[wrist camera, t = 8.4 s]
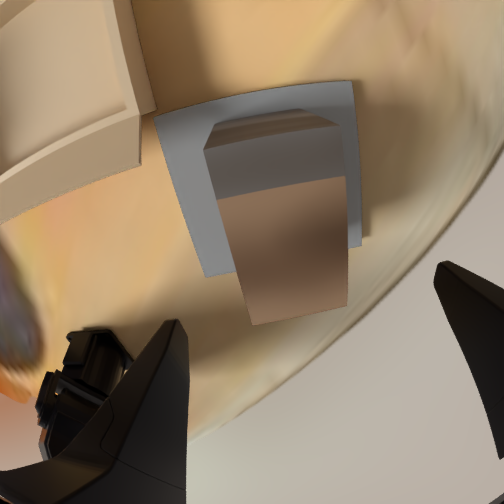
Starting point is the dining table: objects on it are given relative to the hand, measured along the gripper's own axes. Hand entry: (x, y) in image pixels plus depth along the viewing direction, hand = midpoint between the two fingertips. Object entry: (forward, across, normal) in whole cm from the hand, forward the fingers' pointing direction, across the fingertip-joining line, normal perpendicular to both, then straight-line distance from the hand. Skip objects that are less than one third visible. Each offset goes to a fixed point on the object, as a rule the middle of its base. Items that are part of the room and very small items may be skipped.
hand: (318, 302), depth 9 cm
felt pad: (+12, 0, 0) cm, 12 cm away
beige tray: (+12, +14, -13) cm, 22 cm away
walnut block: (+11, 0, 0) cm, 11 cm away
